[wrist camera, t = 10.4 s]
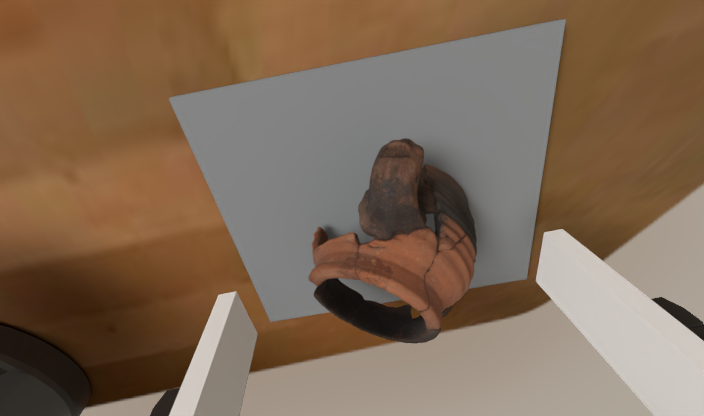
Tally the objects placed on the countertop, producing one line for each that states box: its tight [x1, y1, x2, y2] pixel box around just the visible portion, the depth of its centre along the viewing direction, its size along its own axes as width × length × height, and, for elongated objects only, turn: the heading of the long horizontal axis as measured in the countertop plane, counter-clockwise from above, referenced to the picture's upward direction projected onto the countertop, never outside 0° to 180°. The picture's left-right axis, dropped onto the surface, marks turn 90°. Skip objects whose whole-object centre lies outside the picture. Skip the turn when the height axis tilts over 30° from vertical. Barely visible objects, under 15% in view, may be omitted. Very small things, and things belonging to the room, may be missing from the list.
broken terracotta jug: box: [308, 138, 477, 343], centre depth 17 cm, size 12×10×8 cm
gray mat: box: [169, 19, 566, 322], centre depth 19 cm, size 20×17×1 cm
